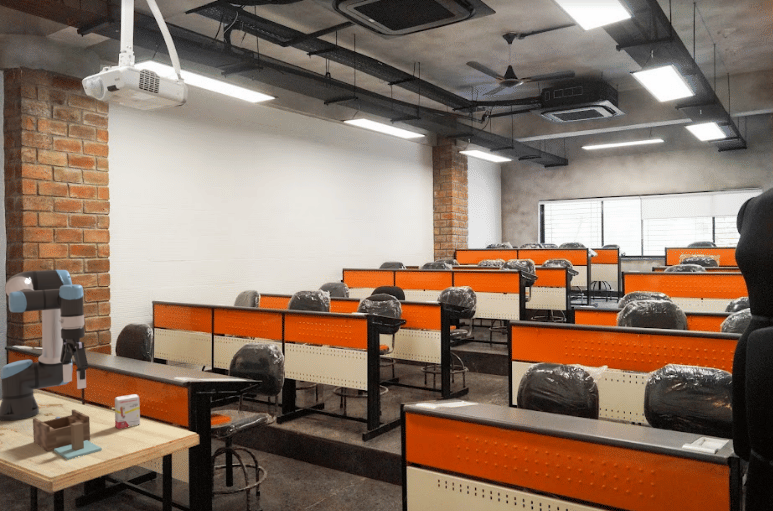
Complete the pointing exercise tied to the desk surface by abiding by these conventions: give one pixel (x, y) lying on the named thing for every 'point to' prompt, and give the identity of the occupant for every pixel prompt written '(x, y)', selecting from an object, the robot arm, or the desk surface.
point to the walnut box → (59, 430)
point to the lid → (77, 444)
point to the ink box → (127, 411)
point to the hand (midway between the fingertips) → (74, 384)
